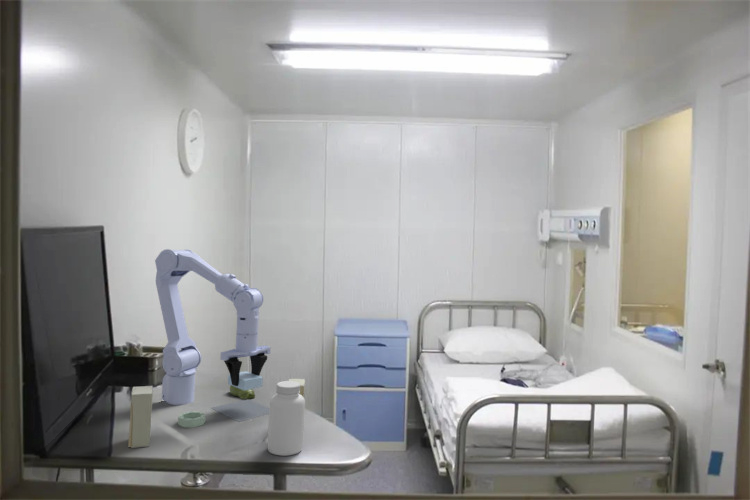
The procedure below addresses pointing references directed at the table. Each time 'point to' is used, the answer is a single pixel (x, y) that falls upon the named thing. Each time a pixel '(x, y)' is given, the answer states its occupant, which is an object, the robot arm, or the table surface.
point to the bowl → (192, 419)
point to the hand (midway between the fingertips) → (244, 383)
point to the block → (247, 381)
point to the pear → (242, 393)
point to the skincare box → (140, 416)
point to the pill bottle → (286, 419)
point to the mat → (242, 410)
